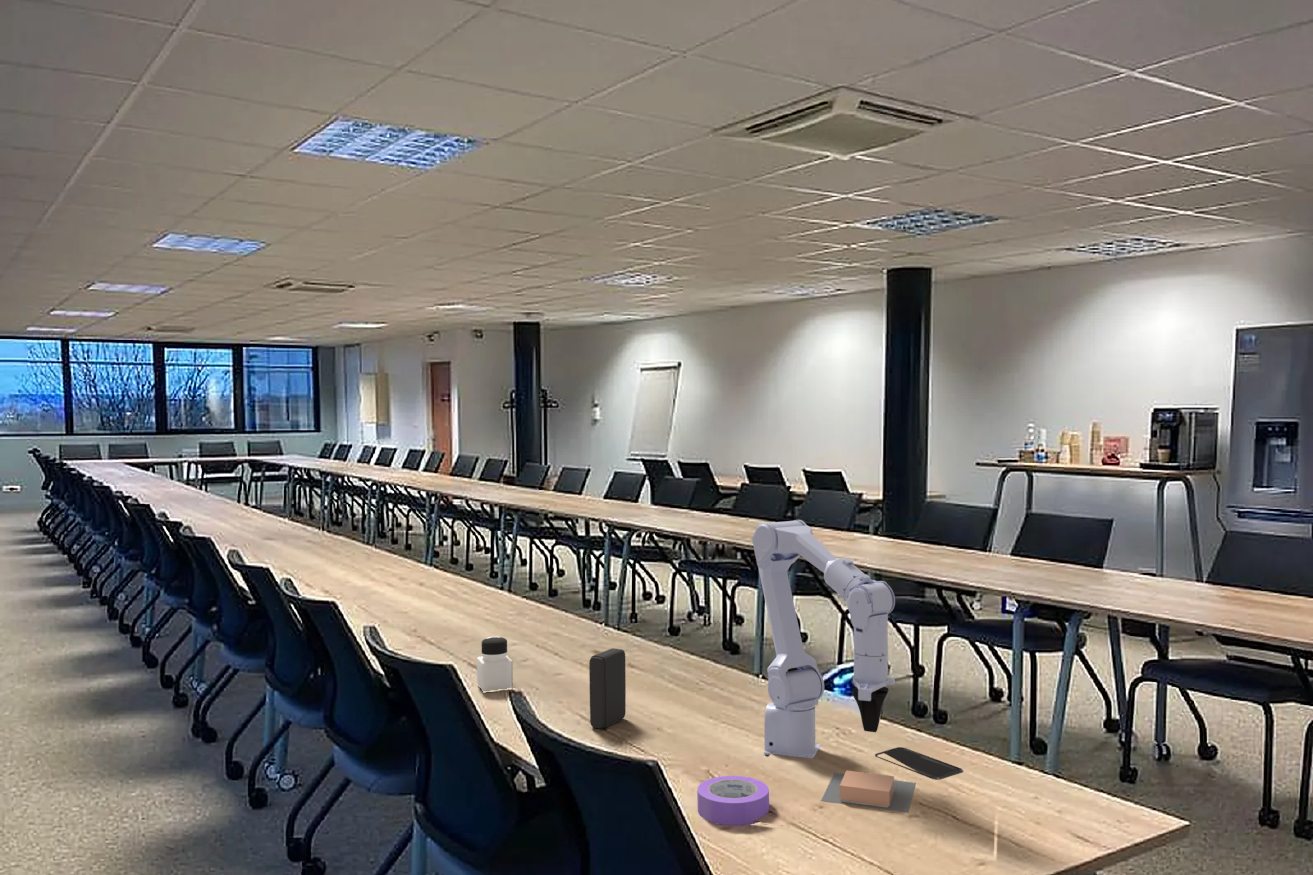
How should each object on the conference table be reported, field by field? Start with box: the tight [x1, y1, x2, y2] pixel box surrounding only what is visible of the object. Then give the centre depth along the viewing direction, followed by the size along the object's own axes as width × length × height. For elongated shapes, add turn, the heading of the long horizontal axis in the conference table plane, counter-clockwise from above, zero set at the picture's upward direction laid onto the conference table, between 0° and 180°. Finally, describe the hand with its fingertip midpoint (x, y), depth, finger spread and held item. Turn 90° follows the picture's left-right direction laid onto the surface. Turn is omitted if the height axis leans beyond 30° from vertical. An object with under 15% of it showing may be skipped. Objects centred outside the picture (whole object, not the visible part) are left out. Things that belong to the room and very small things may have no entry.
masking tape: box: [696, 775, 770, 827], centre depth 153 cm, size 12×12×4 cm
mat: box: [820, 772, 916, 813], centre depth 159 cm, size 14×13×1 cm
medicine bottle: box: [476, 636, 514, 692], centre depth 225 cm, size 7×7×12 cm
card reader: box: [588, 647, 627, 730], centre depth 198 cm, size 9×4×15 cm, turn 149°
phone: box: [874, 746, 964, 780], centre depth 172 cm, size 8×1×15 cm
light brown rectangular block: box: [840, 770, 895, 808], centre depth 157 cm, size 8×3×7 cm
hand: (870, 730), depth 163 cm, fingers closed
